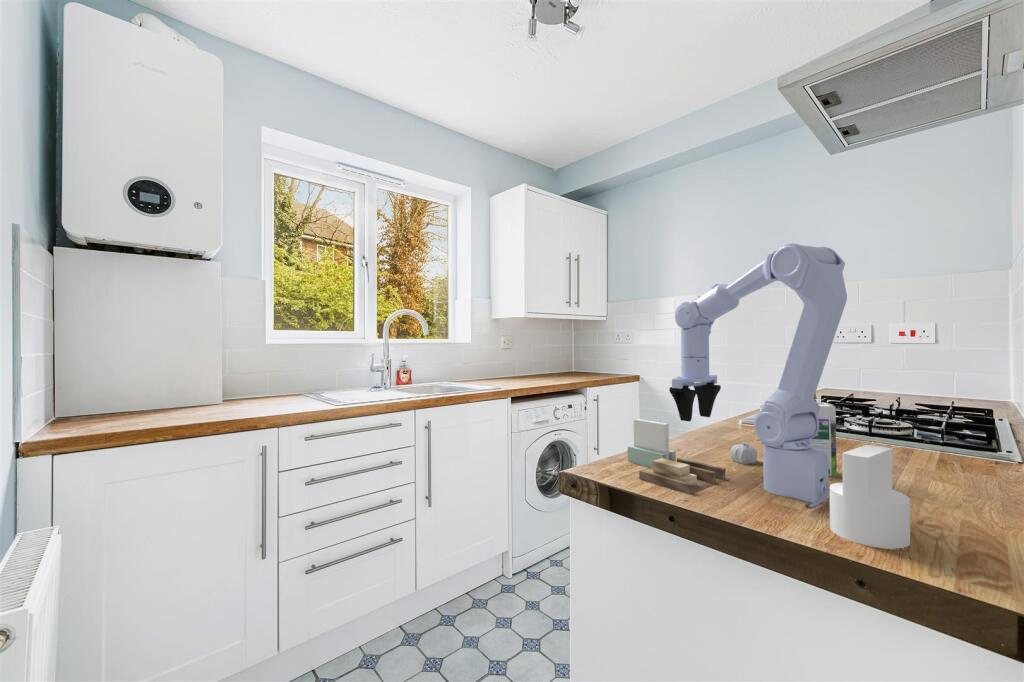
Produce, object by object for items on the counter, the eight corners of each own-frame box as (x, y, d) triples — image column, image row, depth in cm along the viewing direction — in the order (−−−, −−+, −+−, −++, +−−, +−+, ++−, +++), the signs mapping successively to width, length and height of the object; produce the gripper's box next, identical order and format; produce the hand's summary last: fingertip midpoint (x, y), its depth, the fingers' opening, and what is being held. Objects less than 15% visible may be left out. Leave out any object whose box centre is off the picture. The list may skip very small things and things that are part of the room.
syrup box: (804, 476, 90) (804, 404, 90) (793, 468, 96) (793, 400, 96) (837, 478, 89) (836, 405, 88) (824, 469, 94) (823, 401, 94)
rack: (731, 482, 87) (731, 468, 87) (690, 498, 79) (690, 482, 79) (680, 469, 96) (680, 456, 96) (639, 482, 88) (639, 468, 88)
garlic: (760, 469, 95) (760, 445, 95) (732, 467, 97) (732, 443, 97) (754, 462, 101) (754, 439, 101) (728, 460, 103) (728, 437, 102)
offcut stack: (696, 484, 83) (696, 465, 83) (685, 488, 81) (685, 469, 81) (663, 475, 89) (663, 457, 89) (652, 479, 87) (652, 460, 87)
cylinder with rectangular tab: (845, 516, 70) (844, 440, 70) (920, 538, 62) (919, 452, 62) (818, 530, 65) (817, 448, 65) (896, 555, 58) (895, 463, 58)
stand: (676, 469, 96) (675, 451, 96) (661, 474, 93) (661, 454, 93) (641, 460, 103) (641, 443, 103) (627, 464, 100) (627, 446, 100)
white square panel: (669, 465, 95) (668, 423, 95) (664, 467, 94) (664, 424, 94) (638, 458, 101) (637, 418, 101) (634, 459, 101) (633, 419, 101)
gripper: (696, 355, 106) (697, 412, 106) (659, 357, 97) (660, 419, 97) (725, 356, 100) (726, 416, 100) (688, 358, 91) (689, 424, 92)
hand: (695, 418), depth 98 cm, fingers open, 7 cm apart
